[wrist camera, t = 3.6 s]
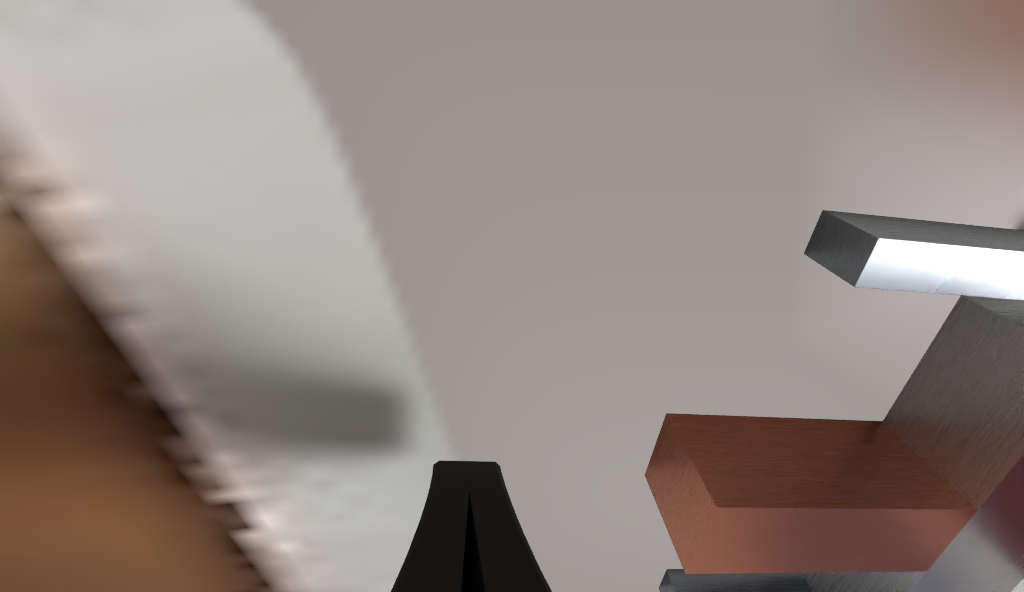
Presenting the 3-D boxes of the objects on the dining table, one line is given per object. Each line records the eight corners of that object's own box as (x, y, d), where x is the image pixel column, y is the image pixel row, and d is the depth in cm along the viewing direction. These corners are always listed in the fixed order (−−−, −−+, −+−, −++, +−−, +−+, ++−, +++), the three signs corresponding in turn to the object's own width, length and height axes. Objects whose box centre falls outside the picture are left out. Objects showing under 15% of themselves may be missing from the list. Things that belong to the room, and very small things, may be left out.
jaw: (1067, 303, 12) (1224, 373, 9) (875, 561, 17) (947, 654, 14) (714, 275, 11) (790, 348, 8) (613, 564, 15) (642, 666, 13)
